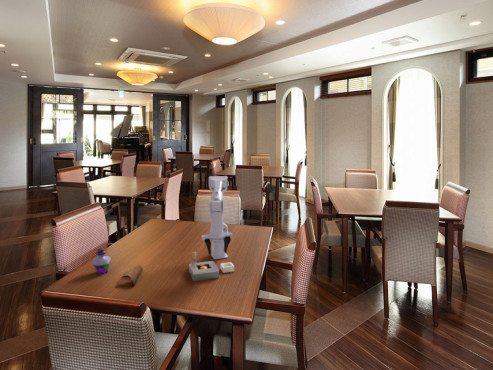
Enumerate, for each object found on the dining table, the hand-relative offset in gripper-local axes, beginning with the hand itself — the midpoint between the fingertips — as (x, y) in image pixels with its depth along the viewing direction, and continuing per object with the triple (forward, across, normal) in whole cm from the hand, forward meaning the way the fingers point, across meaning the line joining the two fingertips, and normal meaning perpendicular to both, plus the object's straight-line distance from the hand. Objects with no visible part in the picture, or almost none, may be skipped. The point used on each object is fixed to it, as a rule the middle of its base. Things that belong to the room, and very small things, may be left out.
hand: (217, 253), depth 161 cm
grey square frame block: (+10, -7, 0) cm, 12 cm away
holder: (+10, +5, +2) cm, 11 cm away
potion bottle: (+10, -53, +19) cm, 57 cm away
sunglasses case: (+10, -40, +6) cm, 42 cm away
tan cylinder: (+10, -10, +10) cm, 17 cm away
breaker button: (+7, -7, 0) cm, 10 cm away
